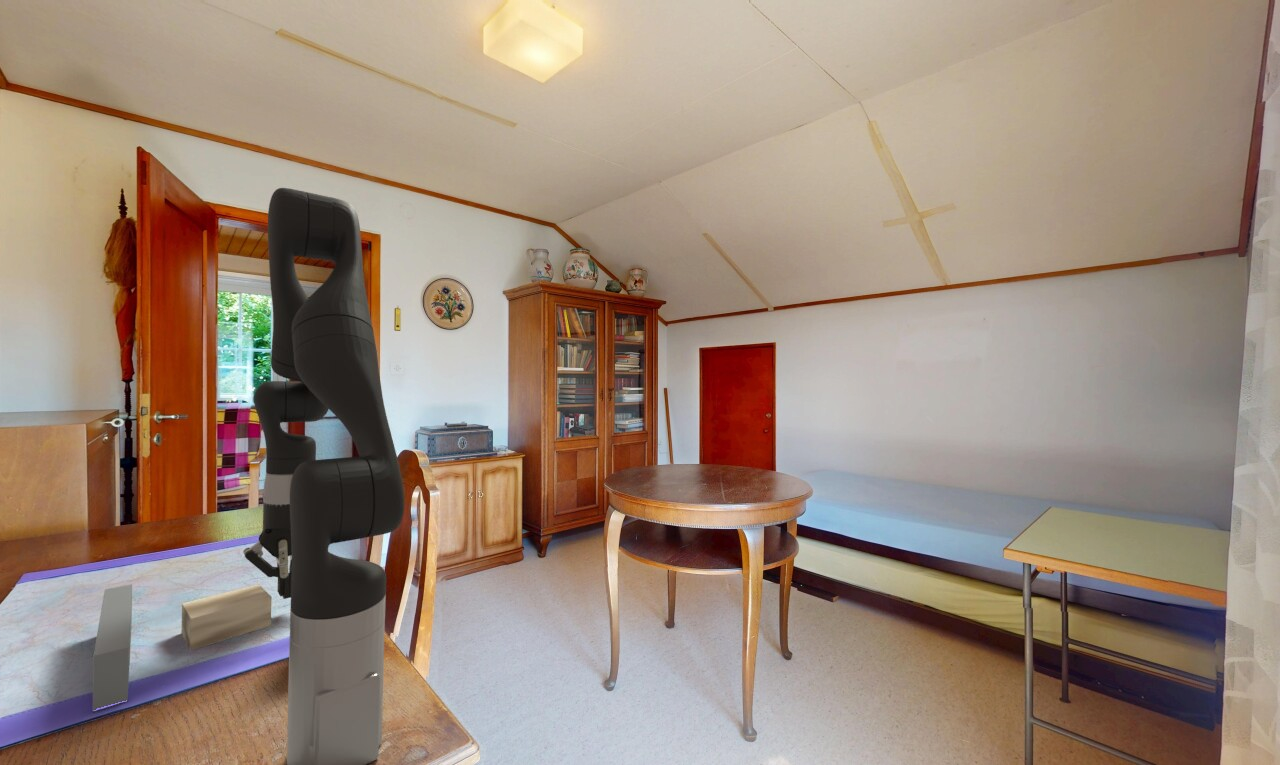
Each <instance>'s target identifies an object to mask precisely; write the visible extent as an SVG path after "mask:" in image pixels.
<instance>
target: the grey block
mask: <svg viewBox="0 0 1280 765" xmlns="http://www.w3.org/2000/svg"><path fill="white" fill-rule="evenodd" d="M102 598H103V599H102V604H101V610H100V615H99V622H98V629H97V633H96V638H95V639H96V640H95V645H94V650H93V651H94V652H93V656H92V657H93V660H92V661H93V663H92V664H93V666H92V668H93V669H92V670H93V672H92V674H93V675H92V711H93V710H96V709H97V708H101V707H104V706H108V705H111V704H115V703H118V702H122V701H126V700H128V701H129V686H130V685H129V683H130V682H129V679H130V663H131V662H130V661H131V646H132V645H131V642H132V640H131V639H132V623H133V622H132V619H133V618H132V616H133V613H132V612H133V611H132V610H133V609H132V608H133V584H131V583H130V584H127V585H120V586H116V587H110V588H106V589H104V592H103V597H102Z"/></svg>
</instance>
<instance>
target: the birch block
mask: <svg viewBox="0 0 1280 765" xmlns="http://www.w3.org/2000/svg"><path fill="white" fill-rule="evenodd" d="M272 600H273V599H272V596H271V595H270V594H269V593H268V592H267V591H266V589H265V588H263V586H261V585H260V584H255V585H251V586H247V587H243V588H238V589H235V590H231V591H227V592H223V593H219V594H214V595H210V596H207V597H203V598H199V599H194V600H191V601H187V602H183V603H182V602H181V630H180V631H181V635H182V637H183V639H184V641H185V642H186V644H187V646H188V648H189V650H190V651H192V650H195V649H199V648H203V647H206V646H209V645H212V644H215V643H218V642H222V641H224V640H229V639H232V638H235V637H238V635H239V636H241V634H242V635H244V634H247V633H248V634H249V633H251V632H255V631H258V630H262V629H265V628H267V627H268V628H269V627H271V626H272ZM228 638H229V639H228Z"/></svg>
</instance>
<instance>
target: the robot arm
mask: <svg viewBox="0 0 1280 765" xmlns="http://www.w3.org/2000/svg"><path fill="white" fill-rule="evenodd" d="M267 212H268V213H267V241H268V242H267V248H268V260H269V261H268V264H269V268H268V269H269V280H270V282H269V283H270V291H271V301H272V304H271V305H272V312H273V315H272V318H273V321H272V322H273V323H272V324H273V328H272V329H273V330H272V341H271V355H270V366H271V369H272V371H273V372H274V373H275V374H276V375H278V376H279V377H282V378H284V379H288V380H291V381H284V380H278V381H277V380H269V381H266V382H265V381H264V382H263V383H261V384H260V385H259V386H258V387H257V389H256V390H255V392H254V395H253V404H254V409H255V411H256V414H257V416H258V419H259V421H260V422H259V423H260V425H261V429H262V432H263V436H264V439H265V440H264V441H265V449H266V450H265V453H266V454H265V455H266V458H265V459H266V460H265V477H264V481H263V482H264V483H263V493H262V499H263V503H262V505H263V506H262V531H261V533H260V534H259V536H258V541H257V542H256V543H255V544H253V545H251V547H246V548H245V549H243V552H242V553H243V555H244V557H245V559H246V560H247V561H249V562H250V563H251V564H252V565H254V567H256V569H259V571H261V573H263V574H264V575H265V576H267V577H268V578H273V577H274V578H277V593H278V595H279V597H282V598H283V600H286V599H289V598H290V613H289V614H290V615H289V616H290V617H289V620H290V621H289V644H288V646H289V647H288V648H289V649H288V650H289V652H288V687H287V688H288V692H287V696H288V697H287V725H286V726H287V729H286V730H287V733H286V736H287V737H286V739H287V740H286V742H287V743H286V765H367V764H370V763H372V762H374V761H376V760H378V758H379V748H380V745H381V743H382V739H383V711H384V709H383V708H384V707H383V706H384V705H383V704H384V702H383V701H384V700H383V698H384V670H385V668H384V663H385V662H384V661H385V628H386V624H385V623H386V621H385V620H386V601H387V600H386V598H387V595H386V594H387V574H386V571H385V569H384V568H383V567H382V566H381V565H380V564H377V563H375V562H373V561H370V560H369V561H368V560H363V559H355V558H354V559H353V558H348V557H342V556H339V555H336V554H333V553H331V552H329V547H330V545H331V544H338V543H342V542H349V541H355V540H360V539H365V538H370V537H371V538H372V537H377V536H382V535H385V534H389V533H392V532H395V531H396V530H397V529H398V528H399V527H400V525H401V524H402V521H403V518H404V513H405V504H406V502H405V498H406V497H405V489H404V488H405V487H404V481H403V476H402V472H401V468H400V462H399V458H398V455H397V451H396V448H395V442H394V440H393V437H392V436H393V435H392V433H391V432H392V431H391V429H390V424H389V420H388V416H387V413H386V408H385V404H384V403H385V402H384V398H383V390H382V383H381V376H380V370H379V369H380V368H379V360H378V353H377V352H378V351H377V345H376V339H375V334H374V328H373V327H374V326H373V324H372V318H371V313H370V310H369V303H368V297H367V292H366V287H365V286H366V284H365V277H364V266H363V264H364V263H363V250H362V249H363V247H362V236H361V235H362V234H361V227H360V221H359V216H358V213H357V210H356V208H355V207H354V206H353V205H352V204H351V203H350V202H348V201H345V200H343V199H339V198H335V197H331V196H327V195H322V194H316V193H312V192H307V191H303V190H299V189H294V188H287V187H279V188H277V189H275V191H273V193H272V194H271V197H270V201H269V205H268V211H267ZM295 257H299V258H306V259H314V260H321V261H326V262H327V261H328V262H332V263H333V264H334V265H335V266H334V268H332V270H331V273H330V274H329V275H328V277H327V278H326V279H325V281H324V282H323V283H322V284H321V285H320V286H319V287H318V288H317V289H316V290H314V292H313V293H312V294H311V295H310V296H308V294H307V293H306V291H305V290H304V288H303V286H302V284H301V282H300V281H299V279H298V275H297V272H296V267H295V266H296V265H295ZM329 411H330V412H331V413H332V414H334V416H335V417H336V418H337V419H338V420H339V421H340V422H341V424H343V426H344V427H345V429H346V430H347V431H348V433H349V435H350V438H352V441H353V442H354V444H355V448H356V450H357V453H358V456H349V457H337V458H336V457H335V458H324V459H322V458H321V459H316V458H317V444H316V440H315V439H314V438H313V437H311V436H309V435H308V436H307V435H303V434H293V433H290V432H286V431H285V430H283V428H282V426H281V424H282V423H307V422H308V423H309V422H317V421H319V420H321V419H323V418H324V417H325V416H326V415H327V413H328V412H329ZM263 548H264V549H265V550H266V551H267V552H268V553H269V554H270V555H271V556H272V557H274V558H275V560H276V566H273V565H272V564H270V563H269V561H268V560H265V559H264V558H263V555H264V552H263Z"/></svg>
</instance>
